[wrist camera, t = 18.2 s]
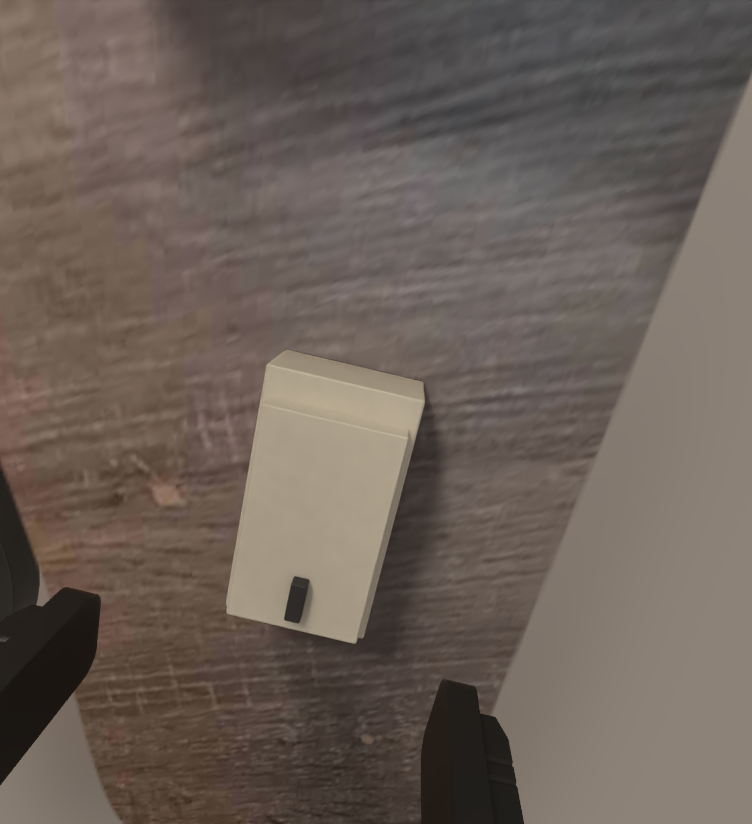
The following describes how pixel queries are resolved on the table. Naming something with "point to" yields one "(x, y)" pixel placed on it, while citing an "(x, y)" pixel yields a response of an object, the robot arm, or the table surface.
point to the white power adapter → (322, 494)
